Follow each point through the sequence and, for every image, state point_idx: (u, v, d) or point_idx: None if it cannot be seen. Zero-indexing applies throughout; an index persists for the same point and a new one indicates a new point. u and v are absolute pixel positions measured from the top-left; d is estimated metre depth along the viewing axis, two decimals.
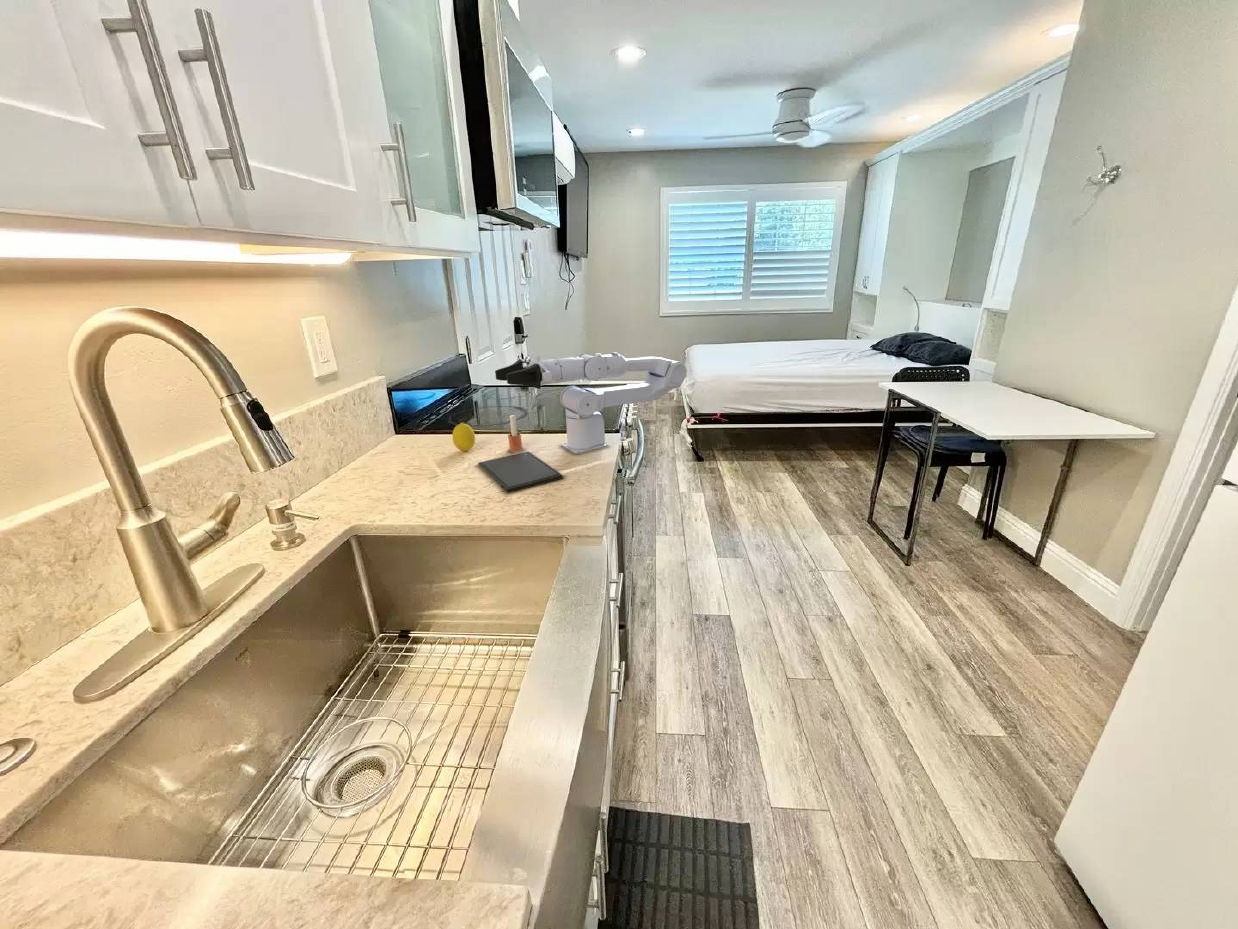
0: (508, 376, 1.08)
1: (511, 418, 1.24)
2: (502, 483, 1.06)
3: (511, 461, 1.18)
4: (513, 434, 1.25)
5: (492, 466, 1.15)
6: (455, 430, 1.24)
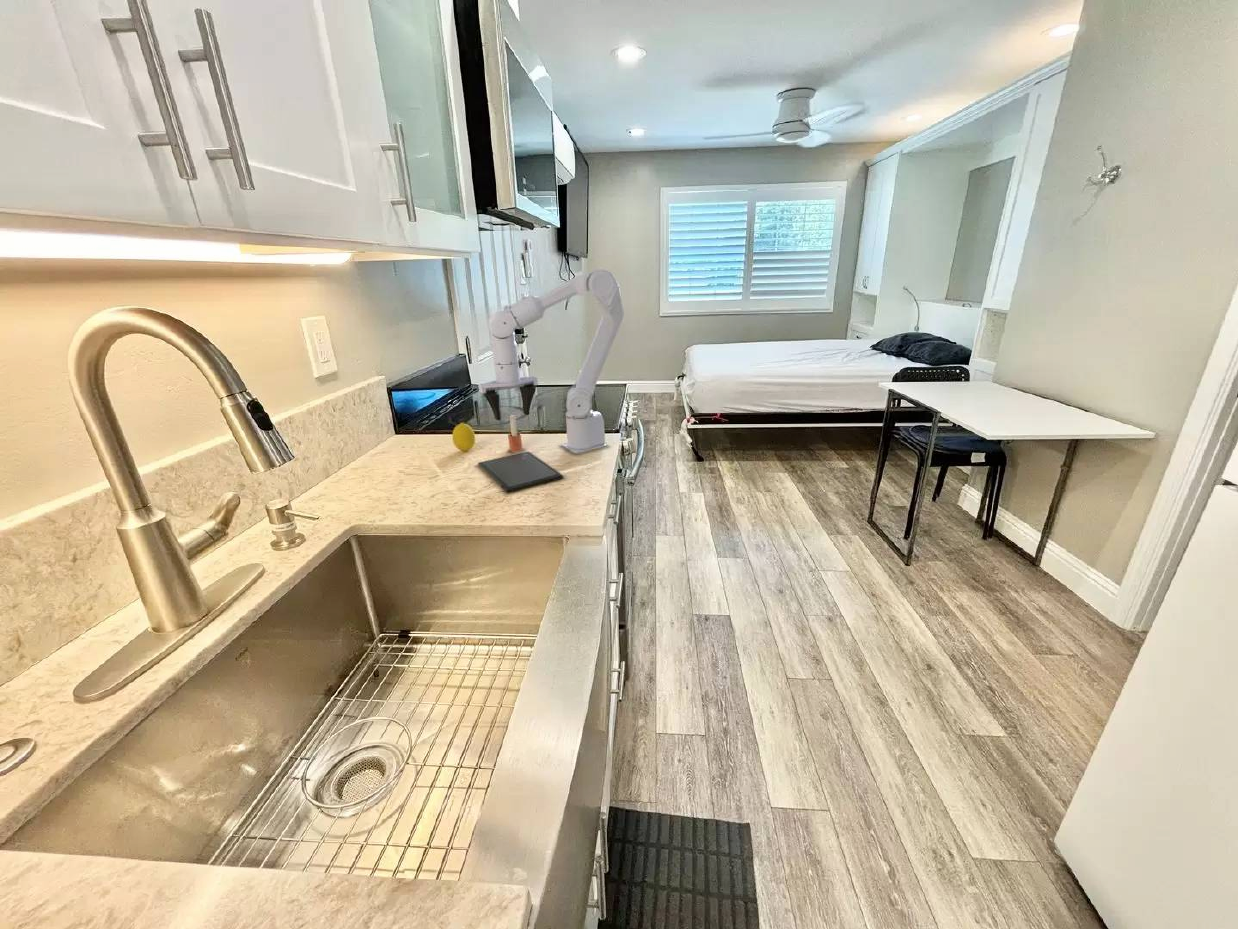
0: (495, 418, 1.22)
1: (511, 418, 1.24)
2: (502, 483, 1.06)
3: (511, 461, 1.18)
4: (513, 434, 1.25)
5: (492, 466, 1.15)
6: (455, 430, 1.24)
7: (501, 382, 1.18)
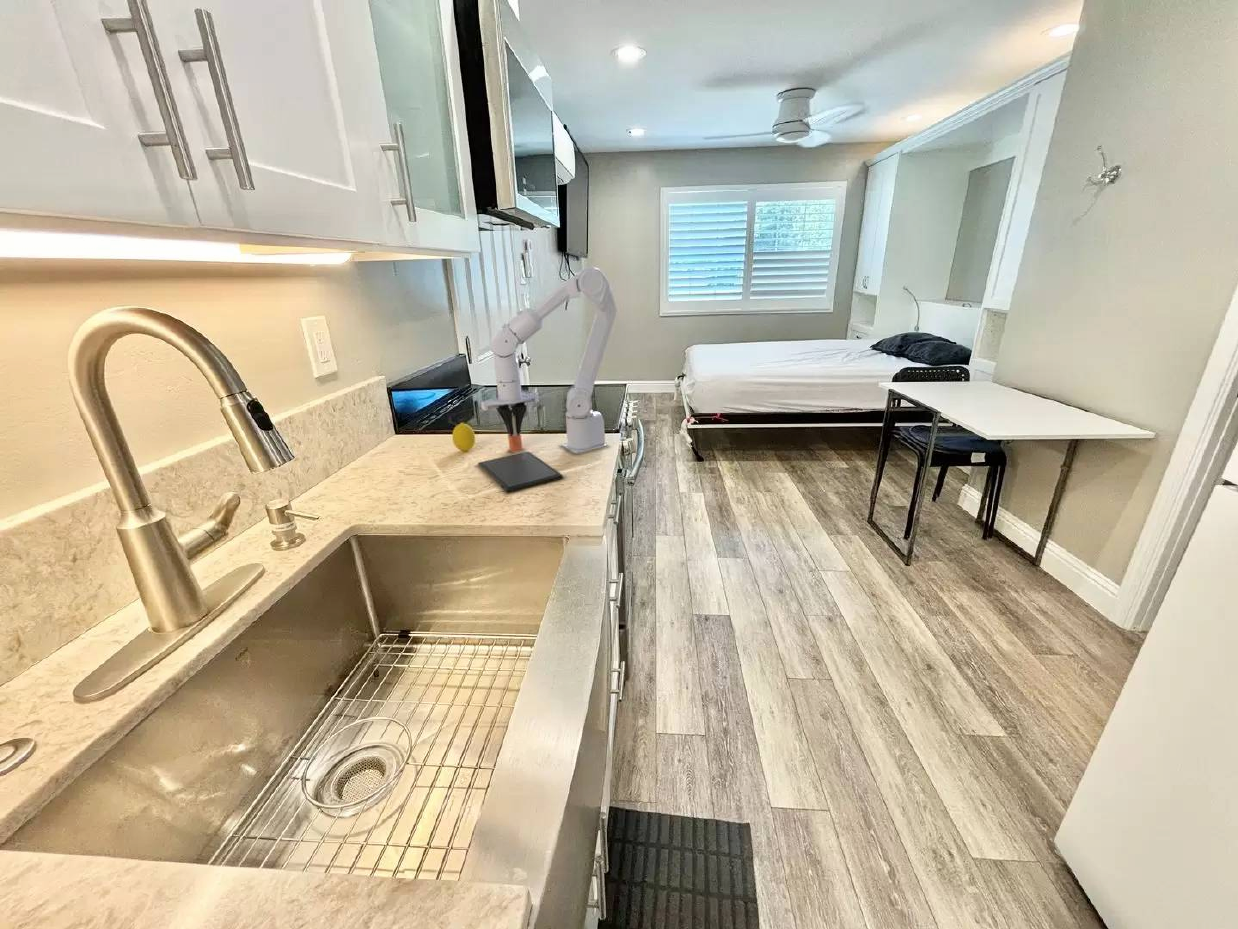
0: (508, 432, 1.25)
1: None
2: (502, 483, 1.06)
3: (511, 461, 1.18)
4: (513, 434, 1.25)
5: (492, 466, 1.15)
6: (455, 430, 1.24)
7: (503, 400, 1.20)
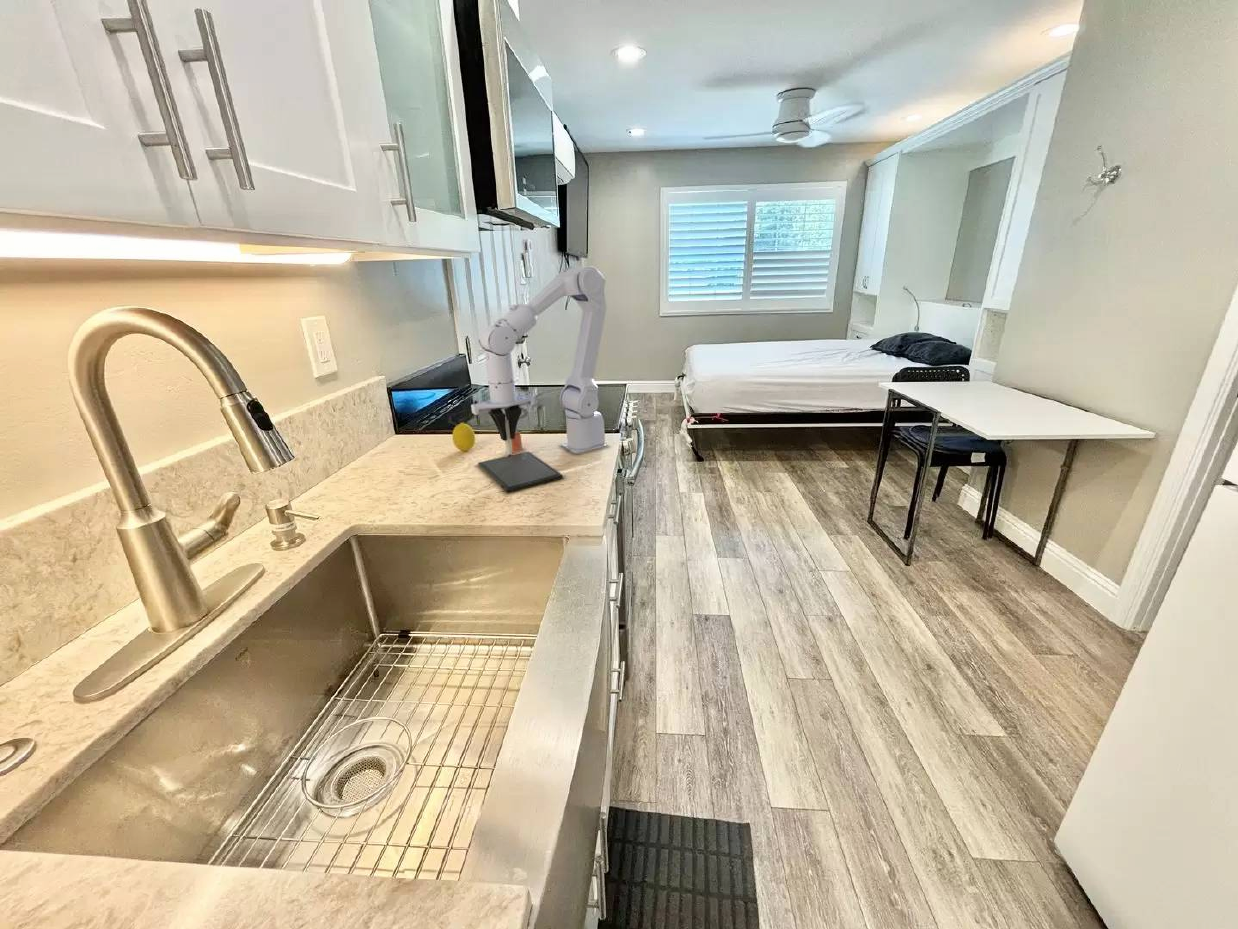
0: (501, 438, 1.15)
1: None
2: (502, 483, 1.06)
3: (511, 461, 1.18)
4: (506, 440, 1.15)
5: (492, 466, 1.15)
6: (455, 430, 1.24)
7: (495, 402, 1.09)
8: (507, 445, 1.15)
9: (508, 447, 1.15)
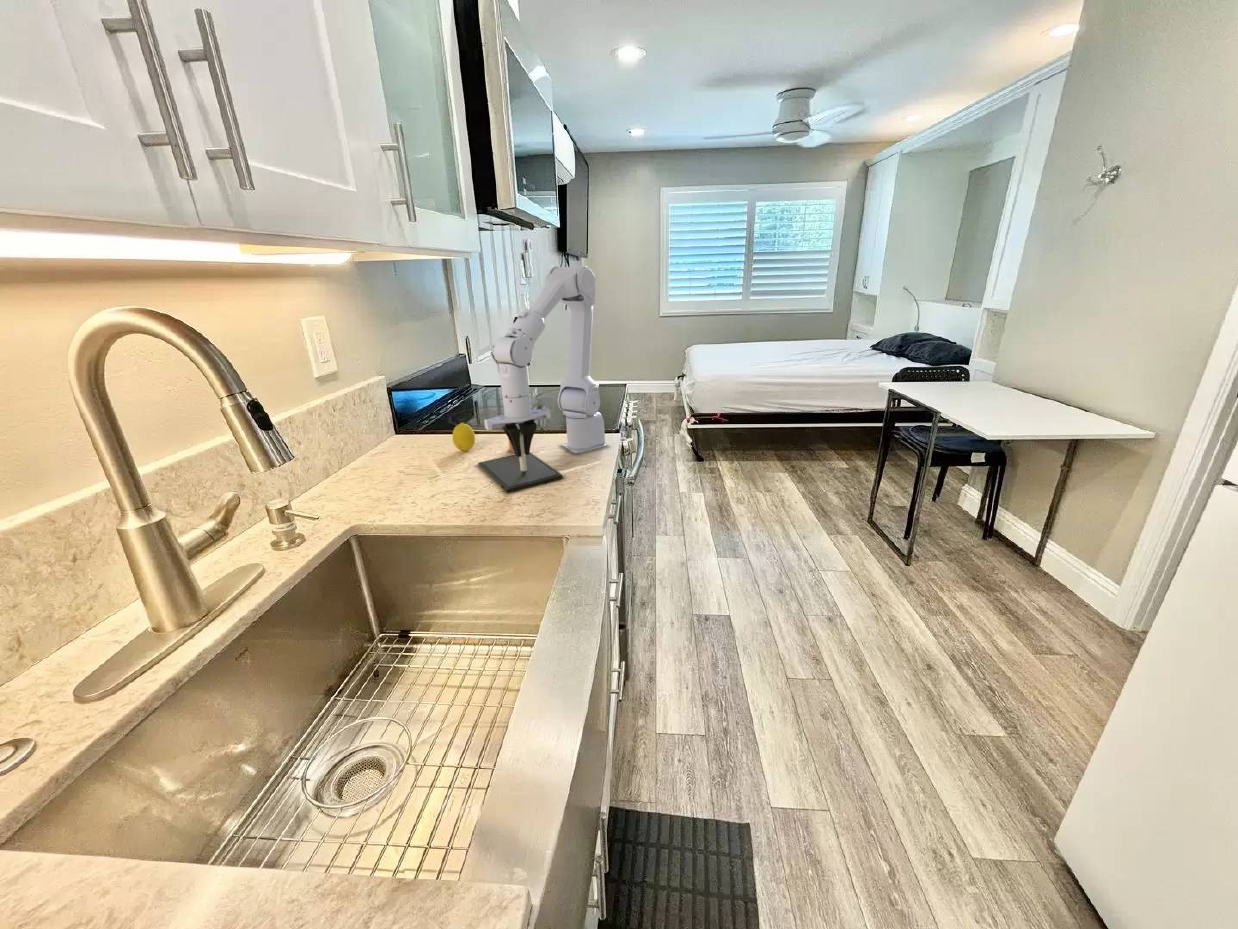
0: (515, 454, 1.09)
1: None
2: (502, 483, 1.06)
3: (511, 461, 1.18)
4: (521, 456, 1.09)
5: (492, 466, 1.15)
6: (455, 430, 1.24)
7: (510, 417, 1.03)
8: (521, 461, 1.09)
9: (522, 463, 1.10)
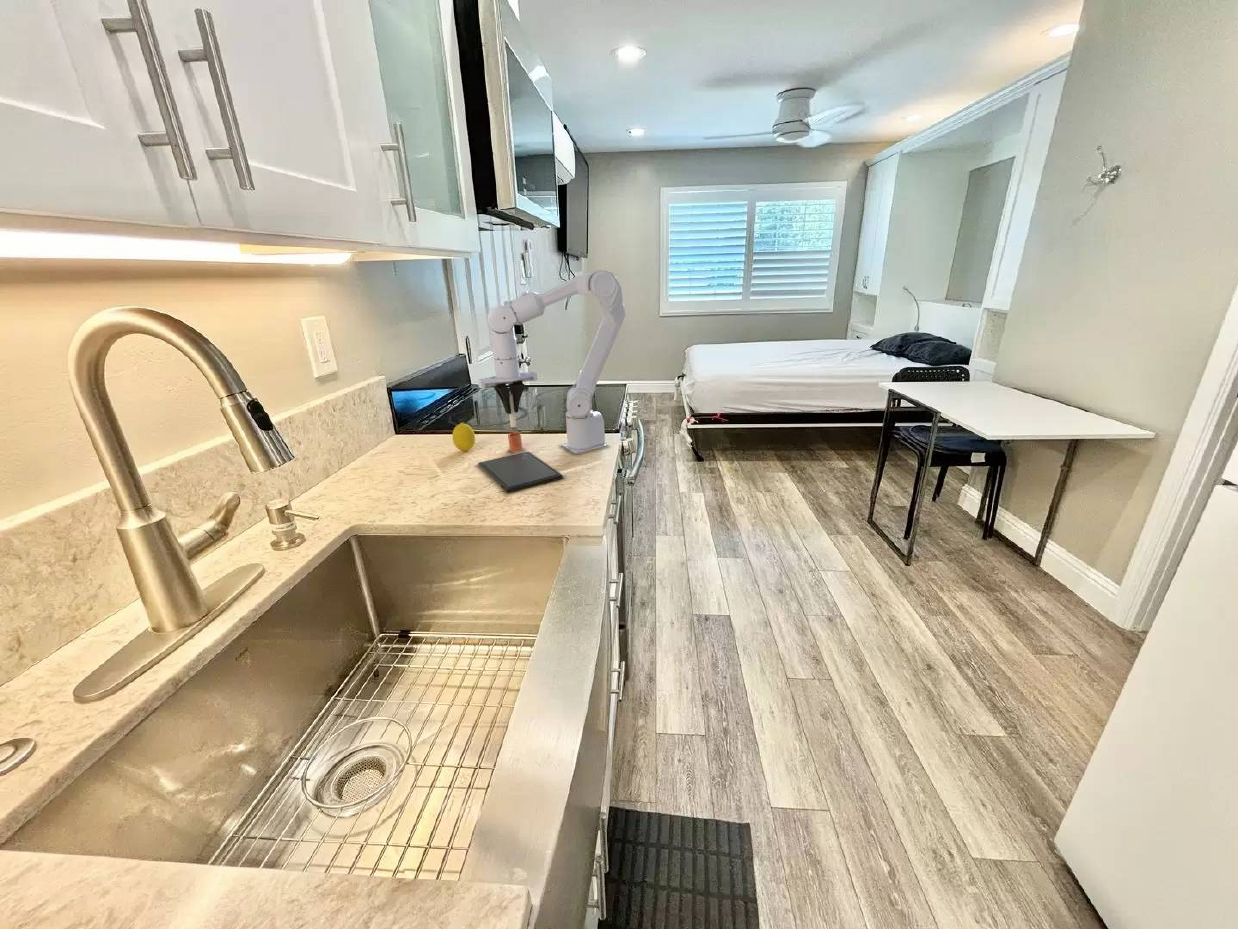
0: (506, 411, 1.23)
1: None
2: (502, 483, 1.06)
3: (511, 461, 1.18)
4: (511, 413, 1.23)
5: (492, 466, 1.15)
6: (455, 430, 1.24)
7: (500, 377, 1.18)
8: (511, 418, 1.24)
9: (512, 420, 1.24)
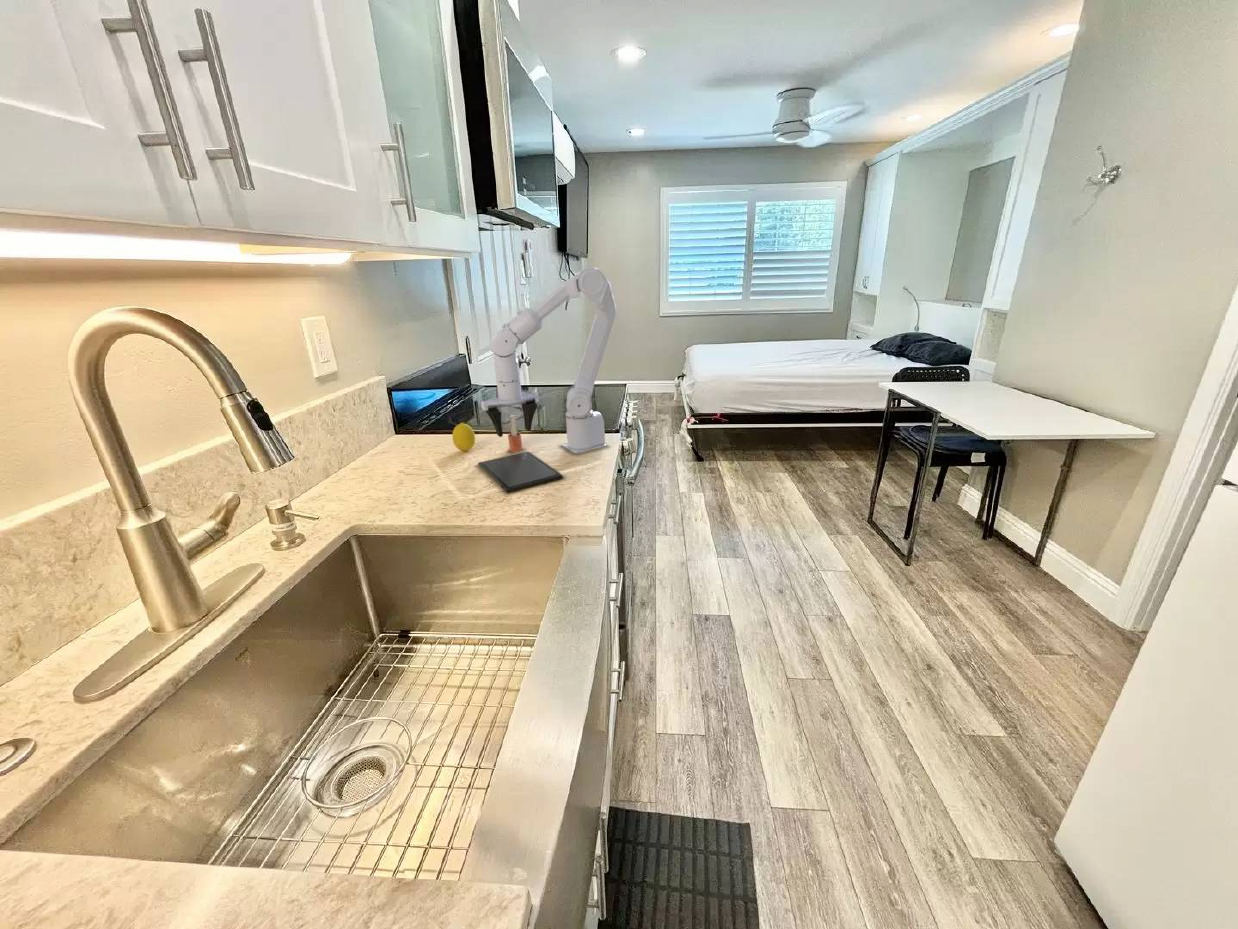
0: (497, 434, 1.24)
1: (511, 418, 1.24)
2: (502, 483, 1.06)
3: (511, 461, 1.18)
4: (513, 434, 1.25)
5: (492, 466, 1.15)
6: (455, 430, 1.24)
7: (503, 399, 1.20)
8: None
9: None
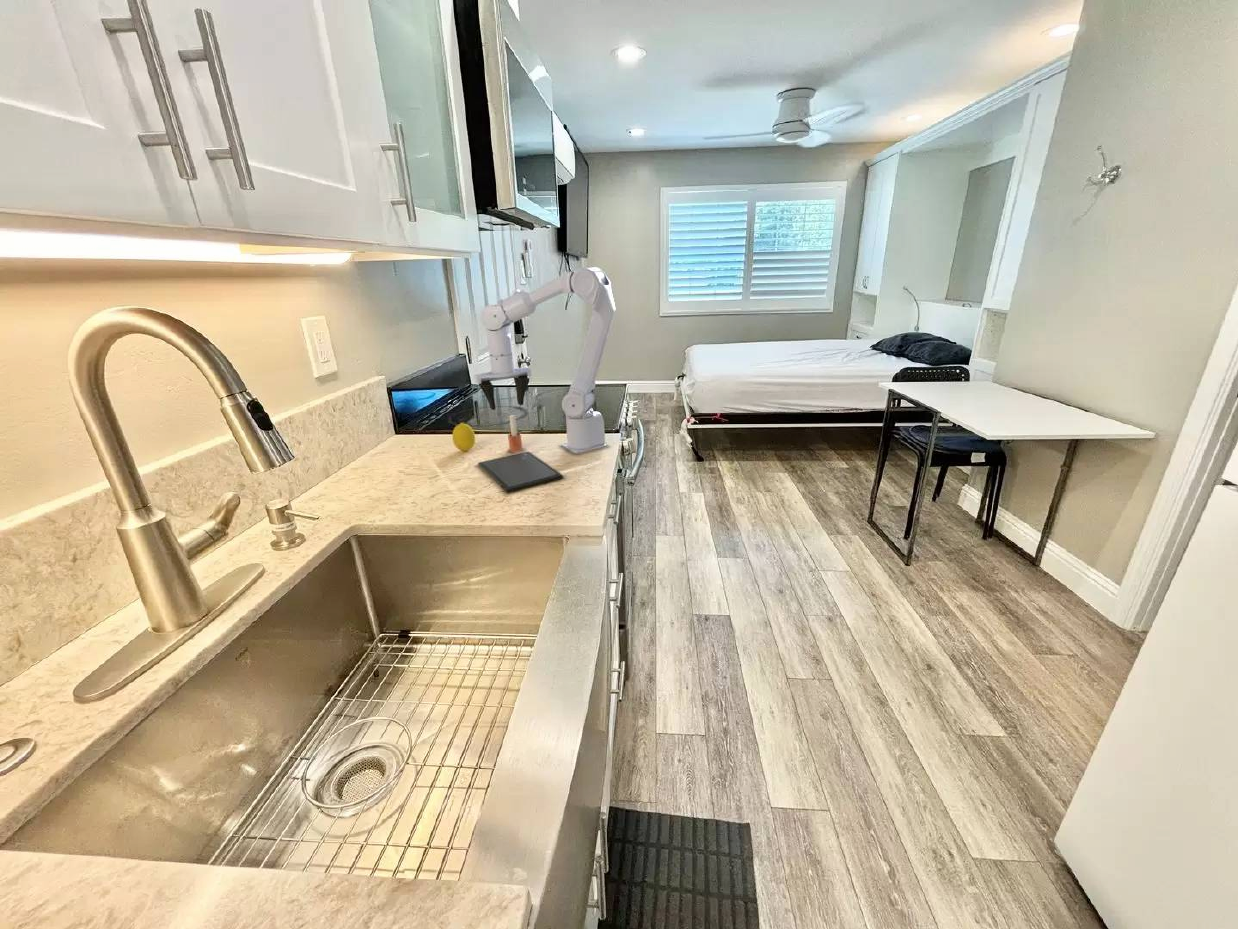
0: (490, 408, 1.27)
1: (511, 418, 1.24)
2: (502, 483, 1.06)
3: (511, 461, 1.18)
4: (513, 434, 1.25)
5: (492, 466, 1.15)
6: (455, 430, 1.24)
7: (496, 373, 1.23)
8: None
9: None
